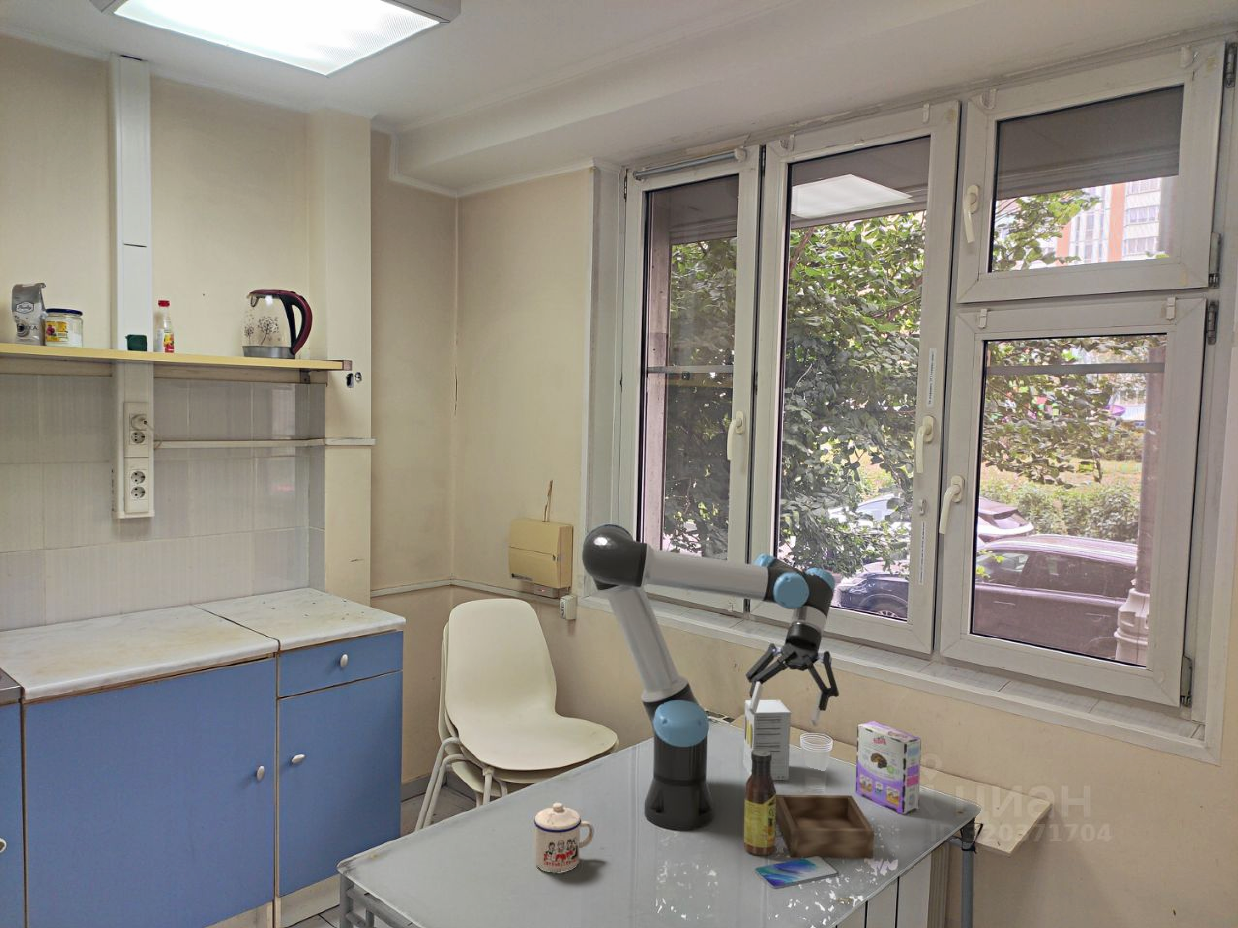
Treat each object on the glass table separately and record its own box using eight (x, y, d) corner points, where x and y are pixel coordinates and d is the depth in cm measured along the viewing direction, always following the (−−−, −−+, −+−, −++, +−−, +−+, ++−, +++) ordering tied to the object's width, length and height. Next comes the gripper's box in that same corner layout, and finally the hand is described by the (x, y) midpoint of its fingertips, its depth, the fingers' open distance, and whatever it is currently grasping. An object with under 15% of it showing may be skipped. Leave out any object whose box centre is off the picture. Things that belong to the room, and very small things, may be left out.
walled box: (790, 857, 177) (791, 830, 176) (775, 819, 193) (776, 794, 193) (873, 858, 177) (874, 831, 176) (850, 819, 193) (851, 795, 193)
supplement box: (742, 765, 222) (744, 699, 221) (778, 764, 223) (780, 698, 222) (752, 781, 212) (754, 712, 211) (789, 780, 213) (791, 711, 212)
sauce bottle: (774, 858, 176) (777, 760, 175) (742, 854, 177) (745, 757, 176) (775, 842, 182) (777, 748, 181) (744, 839, 183) (747, 745, 182)
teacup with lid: (541, 878, 167) (542, 818, 166) (528, 855, 175) (528, 797, 174) (601, 867, 171) (602, 808, 170) (585, 845, 180) (586, 789, 179)
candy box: (919, 809, 199) (922, 737, 198) (902, 815, 196) (905, 742, 195) (870, 787, 210) (873, 719, 209) (853, 792, 207) (856, 723, 206)
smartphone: (840, 872, 170) (773, 887, 164) (840, 877, 170) (773, 891, 165) (818, 854, 177) (753, 867, 171) (818, 858, 177) (753, 871, 171)
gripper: (864, 647, 196) (844, 736, 184) (757, 633, 208) (731, 715, 196) (858, 629, 191) (837, 718, 179) (749, 615, 203) (722, 698, 191)
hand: (782, 717), depth 187 cm, fingers open, 13 cm apart
